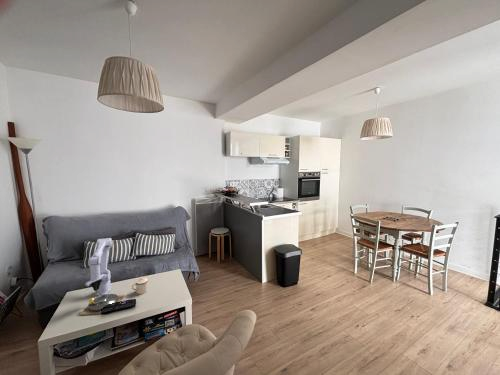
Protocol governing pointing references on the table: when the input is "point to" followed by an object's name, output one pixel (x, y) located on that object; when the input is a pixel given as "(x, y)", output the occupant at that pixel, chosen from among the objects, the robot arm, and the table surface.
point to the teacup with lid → (141, 286)
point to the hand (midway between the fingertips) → (96, 290)
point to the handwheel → (101, 301)
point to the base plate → (89, 312)
